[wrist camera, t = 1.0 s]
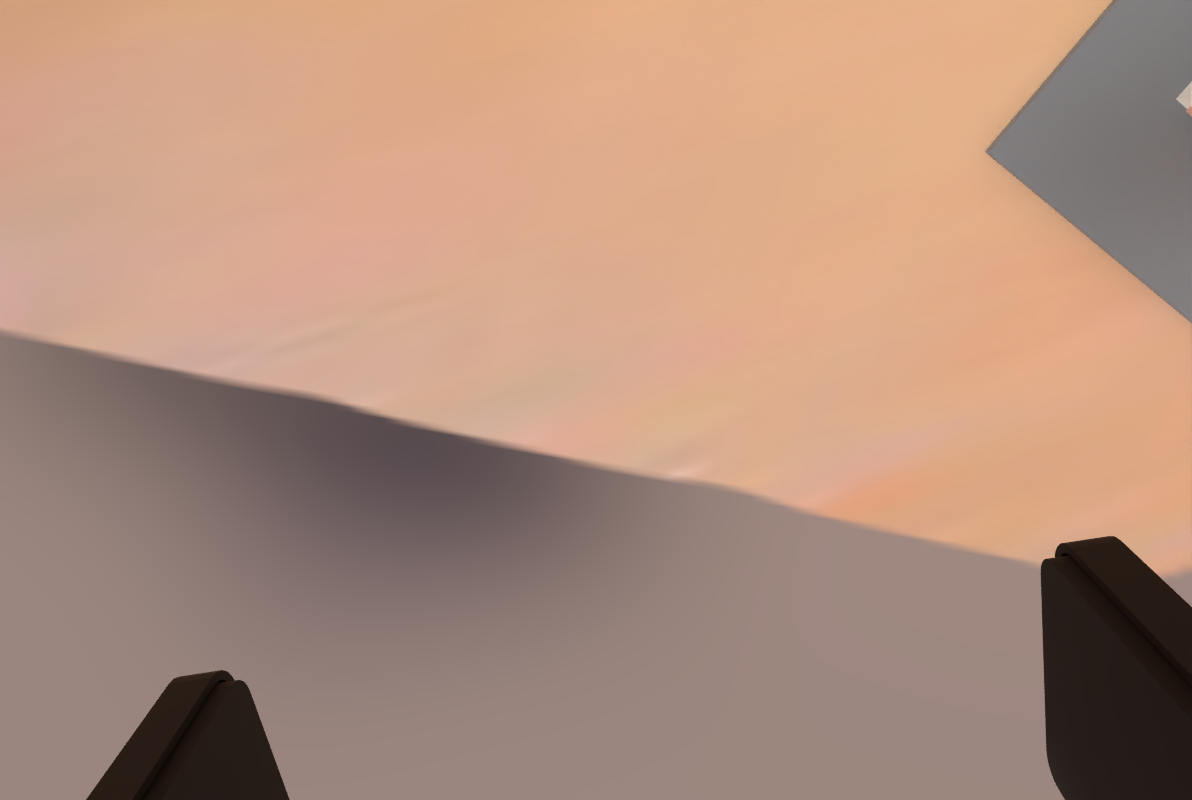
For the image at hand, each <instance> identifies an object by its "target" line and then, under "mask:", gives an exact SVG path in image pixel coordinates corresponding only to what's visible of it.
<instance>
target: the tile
mask: <svg viewBox="0 0 1192 800" xmlns="http://www.w3.org/2000/svg"><path fill="white" fill-rule="evenodd" d="M1176 100H1177V101H1179V102H1180V103H1181V104H1182V105H1183V106H1184V107H1185V108H1186V109H1187V111H1186V112H1187V113H1188V114H1189V115H1190V116H1191V117H1192V82H1191V83H1190V84H1189V85H1188V86H1187V87H1186V88H1185V89H1184V90H1183V92H1182V93H1181V94H1180V95H1179V96H1178V97H1177V98H1176Z"/></svg>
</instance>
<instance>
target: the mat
mask: <svg viewBox="0 0 1192 800" xmlns="http://www.w3.org/2000/svg"><path fill="white" fill-rule="evenodd" d="M1191 82H1192V0H1113V1H1112V3H1111V4H1110V5H1109V6H1108V7H1107V8H1106V10H1105V11H1104V12H1103V13H1102V14H1101V16H1100V17H1099V18H1098V19H1097V20H1096V21H1095V23H1094V24H1093V25H1092V26H1091V27H1090V28H1089V30H1088V31H1087V32H1086V33H1085V34H1084V36H1083V37H1082V38H1081V39H1080V40H1079V41H1078V43H1077V44H1076V45H1075V46H1074V47H1073V49H1072V50H1071V51H1070V52H1069V53H1068V54H1067V56H1066V57H1065V58H1064V59H1063V60H1062V62H1061V63H1060V64H1059V65H1058V66H1057V67H1056V69H1055V70H1054V71H1053V72H1052V73H1051V75H1050V76H1049V77H1048V78H1047V79H1046V80H1045V82H1044V83H1043V84H1042V85H1041V86H1040V88H1039V89H1038V90H1037V91H1036V92H1035V93H1034V95H1033V96H1032V97H1031V98H1030V99H1029V100H1028V102H1027V103H1026V104H1025V105H1024V106H1023V108H1022V109H1021V110H1020V111H1019V112H1018V113H1017V115H1016V116H1015V117H1014V118H1013V119H1012V121H1011V122H1010V123H1009V124H1008V125H1007V126H1006V128H1005V129H1004V130H1003V131H1002V132H1001V134H1000V135H999V136H998V137H997V138H996V139H995V141H994V142H993V143H992V144H991V145H990V147H989V148H988V149H987V150H986V151H985V152H986V153H987V154H988V155H990V156H991V157H992V158H993V159H994V160H996V161H997V162H998V163H999V164H1000V165H1002V166H1003V167H1004V168H1005V169H1007V170H1008V171H1009V172H1010V173H1011V174H1013V175H1014V176H1015V177H1016V178H1017V179H1019V180H1020V181H1021V182H1022V183H1023V184H1025V185H1026V186H1027V187H1028V188H1029V189H1031V190H1032V191H1033V192H1034V193H1035V194H1037V195H1038V196H1039V197H1040V198H1042V199H1043V200H1044V201H1045V202H1046V203H1048V204H1049V205H1050V206H1051V207H1052V208H1054V209H1055V210H1056V211H1057V212H1058V213H1060V214H1061V215H1062V216H1063V217H1064V218H1066V219H1067V220H1068V221H1069V222H1070V223H1072V224H1073V225H1074V226H1075V227H1077V228H1078V229H1079V230H1080V231H1081V232H1083V233H1084V234H1085V235H1086V236H1087V237H1089V238H1090V239H1091V240H1092V241H1093V242H1095V243H1096V244H1097V245H1098V246H1099V247H1101V248H1102V249H1103V250H1104V251H1105V252H1107V253H1108V254H1109V255H1110V256H1111V257H1113V258H1114V259H1115V260H1116V261H1118V262H1119V263H1120V264H1121V265H1122V266H1124V267H1125V268H1126V269H1127V270H1128V271H1130V272H1131V273H1132V274H1133V275H1134V276H1136V277H1137V278H1138V279H1139V280H1140V281H1142V282H1143V283H1144V284H1145V285H1146V286H1148V287H1149V288H1150V289H1151V290H1153V291H1154V292H1155V293H1156V294H1157V295H1159V296H1160V297H1161V298H1162V299H1163V300H1165V301H1166V302H1167V303H1168V304H1169V305H1171V306H1172V307H1173V308H1174V309H1175V310H1177V311H1178V312H1179V313H1180V314H1181V315H1183V316H1184V317H1185V318H1186V319H1187V320H1189V321H1190V322H1191V323H1192V117H1191V116H1190V115H1189V114H1188V113H1187V112H1186V111H1187V109H1186V108H1185V107H1184V106H1183V105H1182V104H1181V103H1180V102H1179V101H1177V100H1176V98H1177V97H1178V96H1179V95H1180V94H1181V93H1182V92H1183V90H1184V89H1185V88H1186V87H1187V86H1188V85H1189V84H1190V83H1191Z"/></svg>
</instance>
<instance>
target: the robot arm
mask: <svg viewBox="0 0 1192 800" xmlns="http://www.w3.org/2000/svg"><path fill="white" fill-rule="evenodd" d="M1041 594H1042V625H1043V656H1044V683H1045V684H1044V686H1045V718H1046V750H1047V758H1048V763H1049V767H1050V770H1051V773H1052V776H1053V778H1054V781H1055V783H1056V785H1057V787H1058V789H1059V790H1060V792H1061V794H1062V795H1063V797H1064V798H1065V800H1192V607H1191V606H1190V605H1189V604H1188V603H1187V602H1185V601H1184V600H1183V599H1182V598H1181V597H1180V596H1179V595H1178V594H1177V593H1176V592H1175V591H1174V590H1173V589H1172V588H1171V587H1170V586H1169V585H1167V584H1166V583H1165V582H1164V581H1163V580H1162V579H1161V578H1160V577H1159V576H1158V575H1157V574H1156V573H1155V572H1154V571H1153V570H1152V569H1150V568H1149V567H1148V566H1147V565H1146V564H1145V563H1144V562H1143V561H1142V560H1141V559H1140V558H1139V557H1138V556H1137V555H1136V554H1134V553H1133V552H1132V551H1131V550H1130V549H1129V548H1128V547H1127V546H1126V545H1125V544H1124V543H1123V542H1122V541H1121V540H1119V539H1118V538H1116V537H1115V536H1107V537H1101V538H1094V539H1088V540H1081V541H1074V542H1068V543H1061V544H1060V545H1059V546H1058V547H1057V549H1056V552H1055V558H1049V559H1045V560H1044V561H1043V562H1042V565H1041ZM86 800H289V797H288V795H287V792H286V789H285V786H284V783H283V781H282V778H281V775H280V772H279V770H278V767H277V764H276V761H275V759H274V756H273V754H272V751H271V748H270V745H269V742H268V740H267V737H266V734H265V731H264V729H263V726H262V723H261V720H260V718H259V715H258V712H257V709H256V706H255V704H254V701H253V698H252V695H251V693H250V690H249V688H248V687H247V685H246V684H245V682H243V681H241V680H236V681H234V679H233V677H232V676H231V675H230V674H229V673H228V672H226V671H223V670H220V671H214V672H208V673H201V674H195V675H188V676H181V677H177V678H174V679H173V680H172V681H171V682H170V684H169V685H168V686H167V687H166V689H165V690H164V692H163V693H162V694H161V696H160V697H159V699H158V700H157V701H156V703H155V704H154V706H153V707H152V708H151V710H150V711H149V713H148V714H147V715H146V717H145V718H144V720H143V721H142V722H141V724H140V725H139V727H138V728H137V729H136V731H135V732H134V734H133V735H132V736H131V738H130V739H129V741H128V742H127V743H126V745H125V746H124V748H123V749H122V751H121V752H120V753H119V755H118V756H117V757H116V759H115V760H114V762H113V763H112V764H111V766H110V767H109V769H108V770H107V771H106V773H105V774H104V776H103V777H102V778H101V780H100V781H99V783H98V784H97V785H96V787H95V788H94V790H93V791H92V792H91V794H90V795H89V797H88V798H87V799H86Z"/></svg>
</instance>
